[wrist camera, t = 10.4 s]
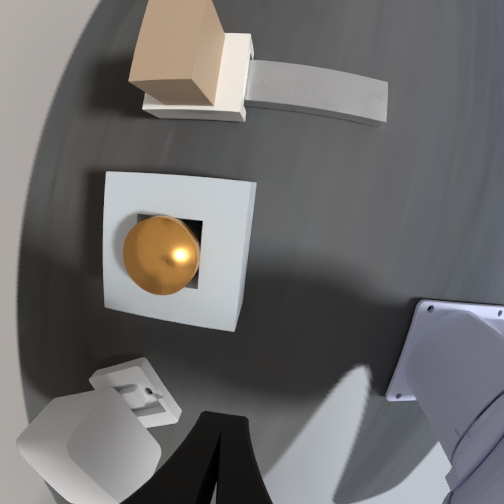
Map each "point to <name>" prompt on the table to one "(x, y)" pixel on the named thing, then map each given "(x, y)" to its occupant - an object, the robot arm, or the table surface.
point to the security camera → (101, 435)
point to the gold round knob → (163, 253)
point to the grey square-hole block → (212, 244)
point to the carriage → (190, 63)
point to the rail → (316, 92)
